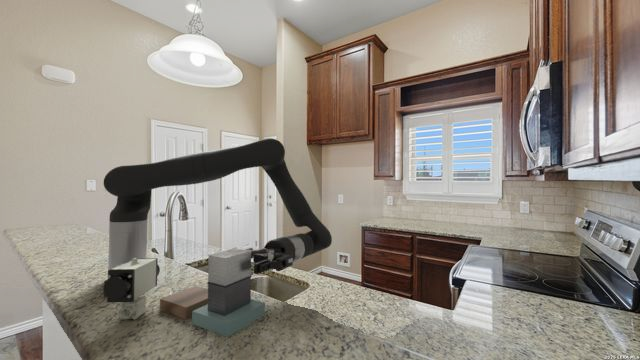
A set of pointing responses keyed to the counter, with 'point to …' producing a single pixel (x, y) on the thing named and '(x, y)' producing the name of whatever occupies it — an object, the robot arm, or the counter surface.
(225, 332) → the stand
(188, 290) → the stand
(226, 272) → the block
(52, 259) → the counter surface
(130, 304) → the pneumatic valve
